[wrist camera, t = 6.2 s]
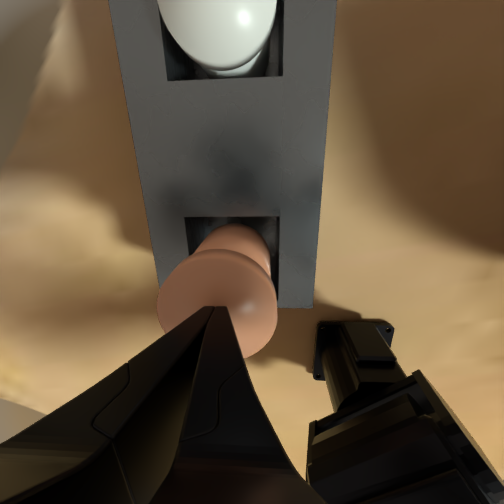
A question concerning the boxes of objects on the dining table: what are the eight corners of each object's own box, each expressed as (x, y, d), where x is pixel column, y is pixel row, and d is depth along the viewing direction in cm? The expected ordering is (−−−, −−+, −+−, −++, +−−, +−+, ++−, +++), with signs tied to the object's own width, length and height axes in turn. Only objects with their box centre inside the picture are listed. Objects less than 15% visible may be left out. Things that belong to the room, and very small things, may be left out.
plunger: (273, 95, 15) (276, 59, 9) (200, 97, 15) (164, 64, 10) (273, -1, 13) (278, -108, 8) (192, 4, 13) (145, -97, 8)
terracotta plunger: (273, 290, 15) (276, 363, 9) (201, 290, 15) (166, 360, 10) (273, 219, 13) (278, 259, 8) (193, 220, 13) (146, 258, 8)
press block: (299, 266, 20) (312, 308, 14) (191, 265, 20) (162, 306, 15) (314, -8, 14) (346, -121, 8) (159, 2, 14) (90, -98, 9)
